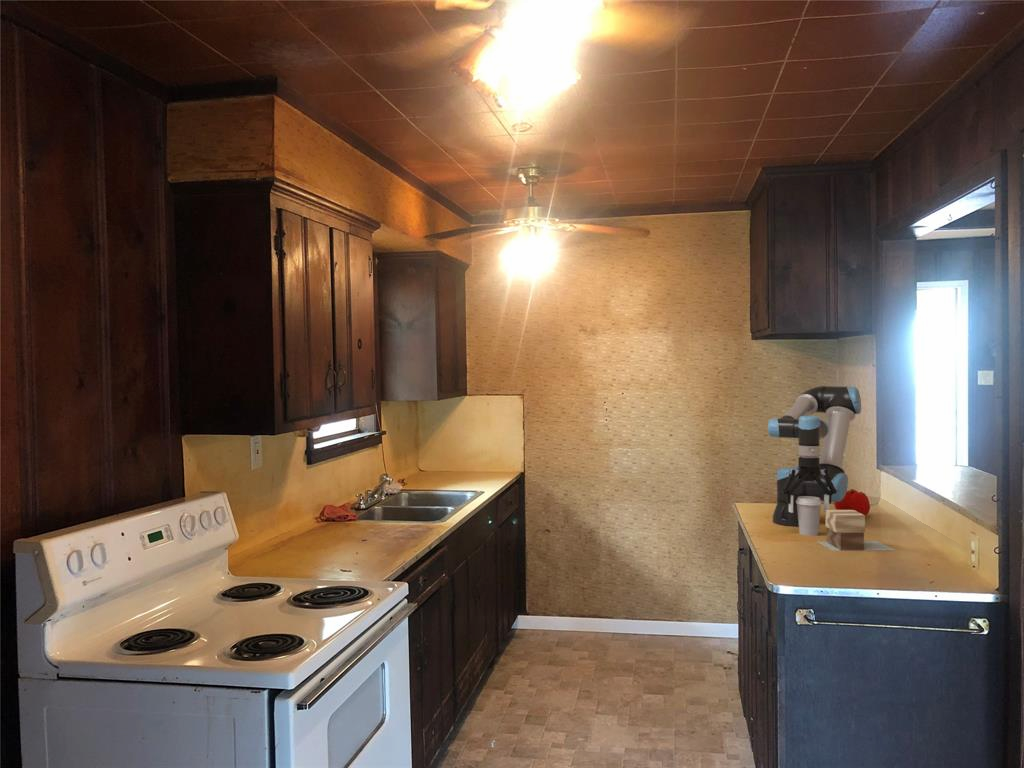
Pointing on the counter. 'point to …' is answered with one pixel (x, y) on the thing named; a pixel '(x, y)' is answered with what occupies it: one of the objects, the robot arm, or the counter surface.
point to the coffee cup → (808, 515)
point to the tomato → (854, 502)
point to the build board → (867, 546)
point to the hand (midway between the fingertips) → (808, 512)
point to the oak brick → (845, 521)
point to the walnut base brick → (846, 540)
